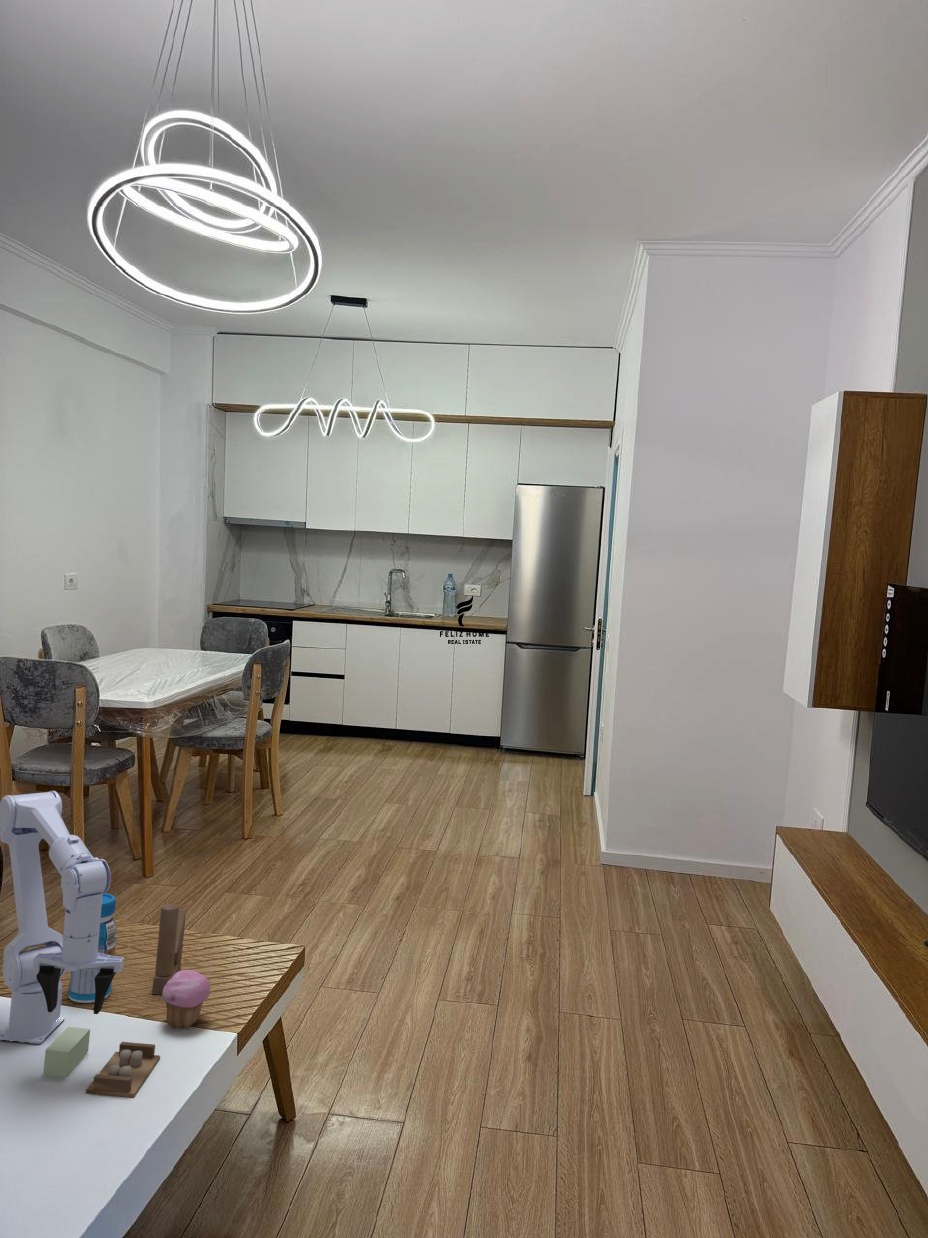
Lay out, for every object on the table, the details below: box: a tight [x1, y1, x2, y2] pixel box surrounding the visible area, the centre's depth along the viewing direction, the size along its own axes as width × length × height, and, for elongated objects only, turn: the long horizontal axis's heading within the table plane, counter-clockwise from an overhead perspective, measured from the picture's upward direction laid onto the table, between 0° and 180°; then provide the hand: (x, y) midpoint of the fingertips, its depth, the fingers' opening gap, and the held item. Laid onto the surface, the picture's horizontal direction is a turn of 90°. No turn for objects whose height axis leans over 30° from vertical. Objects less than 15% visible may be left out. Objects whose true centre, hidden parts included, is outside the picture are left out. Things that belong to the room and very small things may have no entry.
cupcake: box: [161, 969, 211, 1029], centre depth 163 cm, size 9×9×10 cm
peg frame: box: [85, 1041, 161, 1098], centre depth 144 cm, size 12×8×3 cm, turn 0°
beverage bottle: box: [67, 892, 118, 1004], centre depth 171 cm, size 8×8×20 cm
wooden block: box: [151, 903, 187, 995], centre depth 179 cm, size 4×11×18 cm, turn 7°
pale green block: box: [42, 1026, 91, 1078], centre depth 146 cm, size 8×4×4 cm, turn 179°
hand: (74, 1010), depth 144 cm, fingers open, 7 cm apart
